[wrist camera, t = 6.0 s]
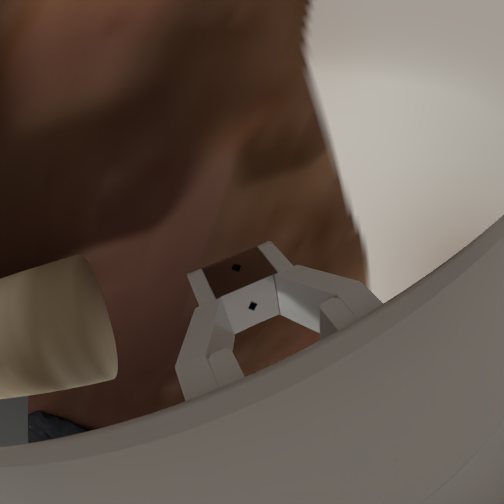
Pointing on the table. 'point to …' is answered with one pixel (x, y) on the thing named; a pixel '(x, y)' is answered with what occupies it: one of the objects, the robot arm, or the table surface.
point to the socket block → (13, 421)
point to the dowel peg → (54, 330)
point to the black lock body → (49, 427)
